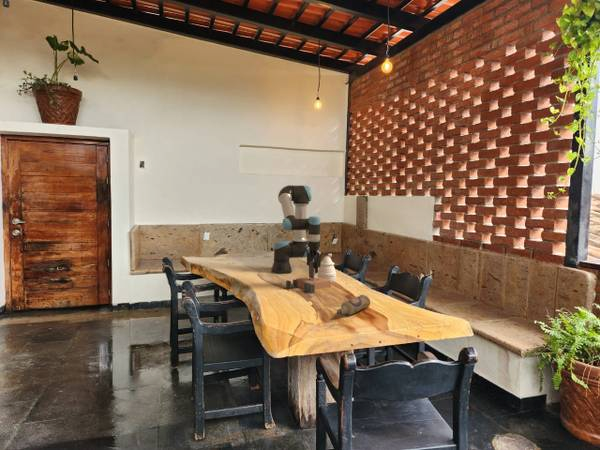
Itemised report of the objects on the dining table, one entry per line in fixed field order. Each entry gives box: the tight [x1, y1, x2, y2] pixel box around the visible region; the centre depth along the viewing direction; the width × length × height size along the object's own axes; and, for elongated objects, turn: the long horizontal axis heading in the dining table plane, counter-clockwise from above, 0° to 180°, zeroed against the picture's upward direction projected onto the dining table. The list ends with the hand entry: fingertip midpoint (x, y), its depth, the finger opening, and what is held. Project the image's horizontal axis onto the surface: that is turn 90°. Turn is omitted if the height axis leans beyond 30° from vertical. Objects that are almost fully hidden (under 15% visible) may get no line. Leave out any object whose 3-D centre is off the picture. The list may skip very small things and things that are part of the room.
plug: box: [308, 260, 317, 281], centre depth 240 cm, size 4×4×12 cm
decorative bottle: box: [336, 294, 371, 316], centre depth 187 cm, size 8×26×7 cm, turn 140°
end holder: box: [295, 276, 332, 290], centre depth 241 cm, size 16×16×4 cm
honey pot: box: [318, 253, 337, 283], centre depth 258 cm, size 13×13×18 cm
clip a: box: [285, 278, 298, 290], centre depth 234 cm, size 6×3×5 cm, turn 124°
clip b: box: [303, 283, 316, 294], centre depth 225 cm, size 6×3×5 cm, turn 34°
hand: (313, 277), depth 240 cm, fingers closed on plug, 4 cm apart
